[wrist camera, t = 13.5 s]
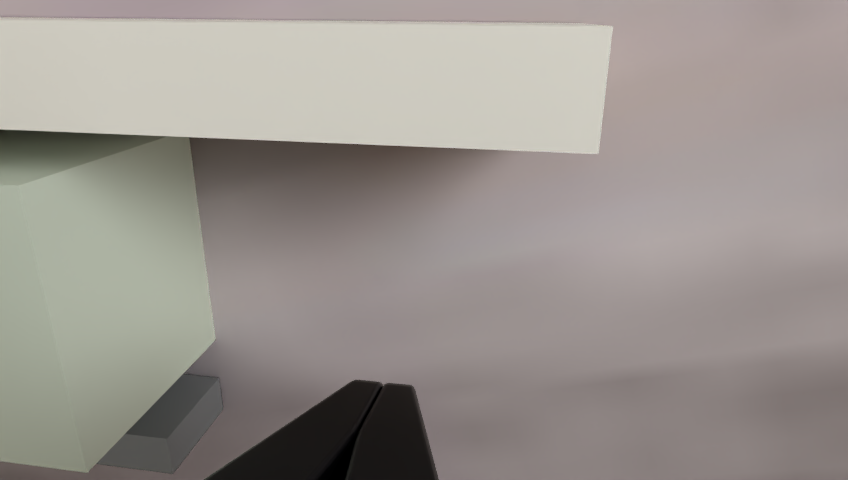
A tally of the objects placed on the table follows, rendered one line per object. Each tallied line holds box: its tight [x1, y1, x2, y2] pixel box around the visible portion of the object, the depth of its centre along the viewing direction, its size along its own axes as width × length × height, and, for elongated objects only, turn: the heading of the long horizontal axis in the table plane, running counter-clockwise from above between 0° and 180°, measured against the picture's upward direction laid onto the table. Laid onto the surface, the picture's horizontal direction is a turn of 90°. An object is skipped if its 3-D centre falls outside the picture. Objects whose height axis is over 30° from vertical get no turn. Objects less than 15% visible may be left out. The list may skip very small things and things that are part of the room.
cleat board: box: [0, 17, 613, 474], centre depth 12 cm, size 10×14×5 cm
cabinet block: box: [0, 129, 216, 473], centre depth 13 cm, size 6×5×5 cm
